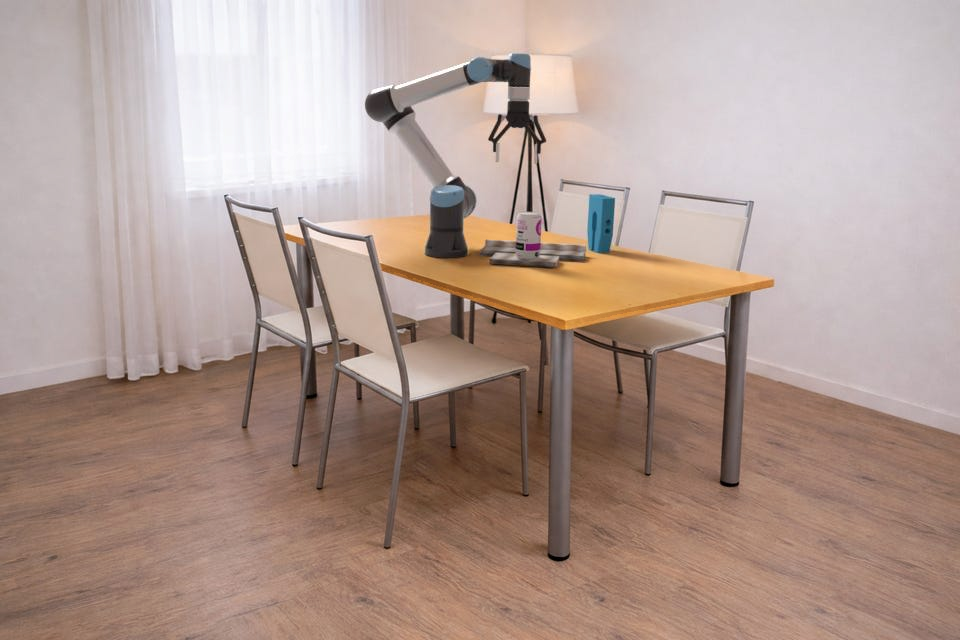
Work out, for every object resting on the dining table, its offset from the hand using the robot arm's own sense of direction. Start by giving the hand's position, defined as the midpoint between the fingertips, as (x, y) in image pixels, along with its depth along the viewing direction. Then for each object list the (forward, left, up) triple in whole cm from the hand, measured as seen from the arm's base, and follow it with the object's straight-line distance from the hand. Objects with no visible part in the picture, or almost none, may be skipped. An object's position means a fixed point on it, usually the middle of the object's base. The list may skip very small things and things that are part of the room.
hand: (516, 162), depth 303 cm
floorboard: (+8, -6, -32) cm, 33 cm away
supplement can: (+8, -20, -30) cm, 37 cm away
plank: (+7, -20, -31) cm, 38 cm away
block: (+30, +12, -32) cm, 45 cm away
